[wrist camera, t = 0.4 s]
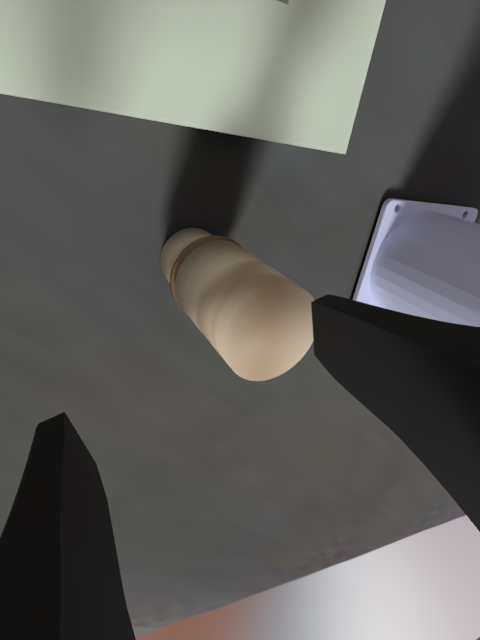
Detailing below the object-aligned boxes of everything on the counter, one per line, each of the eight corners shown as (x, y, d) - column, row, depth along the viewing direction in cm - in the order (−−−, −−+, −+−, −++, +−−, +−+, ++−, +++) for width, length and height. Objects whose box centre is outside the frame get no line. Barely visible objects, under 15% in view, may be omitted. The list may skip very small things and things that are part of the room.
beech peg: (230, 222, 20) (331, 282, 14) (219, 292, 22) (305, 374, 16) (155, 218, 18) (235, 286, 12) (150, 295, 20) (217, 389, 14)
